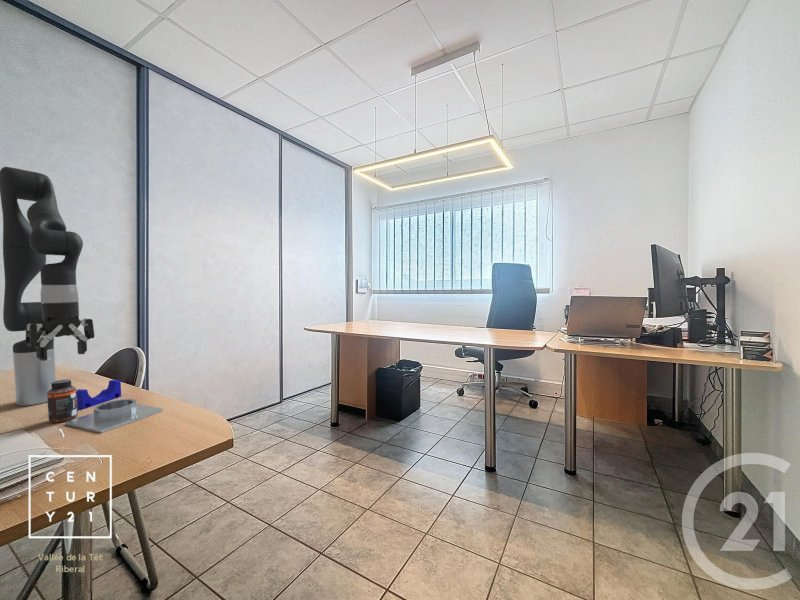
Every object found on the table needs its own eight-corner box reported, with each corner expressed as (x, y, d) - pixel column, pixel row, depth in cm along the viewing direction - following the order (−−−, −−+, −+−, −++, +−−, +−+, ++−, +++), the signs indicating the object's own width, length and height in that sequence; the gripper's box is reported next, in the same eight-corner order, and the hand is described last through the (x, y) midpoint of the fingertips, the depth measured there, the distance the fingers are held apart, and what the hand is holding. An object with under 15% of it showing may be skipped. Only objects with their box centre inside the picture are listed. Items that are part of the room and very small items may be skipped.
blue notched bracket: (110, 396, 117) (109, 379, 117) (121, 397, 116) (120, 380, 116) (71, 409, 105) (70, 390, 105) (83, 410, 105) (82, 391, 104)
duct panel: (65, 424, 93) (64, 411, 93) (128, 404, 108) (127, 393, 108) (101, 433, 88) (100, 418, 88) (162, 411, 103) (162, 398, 103)
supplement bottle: (82, 416, 99) (80, 379, 98) (56, 424, 93) (54, 384, 92) (70, 414, 101) (68, 377, 100) (43, 422, 95) (41, 383, 94)
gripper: (82, 299, 103) (85, 351, 104) (17, 302, 90) (21, 361, 91) (98, 299, 101) (100, 353, 102) (33, 302, 87) (37, 363, 88)
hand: (63, 357), depth 96 cm, fingers open, 8 cm apart
